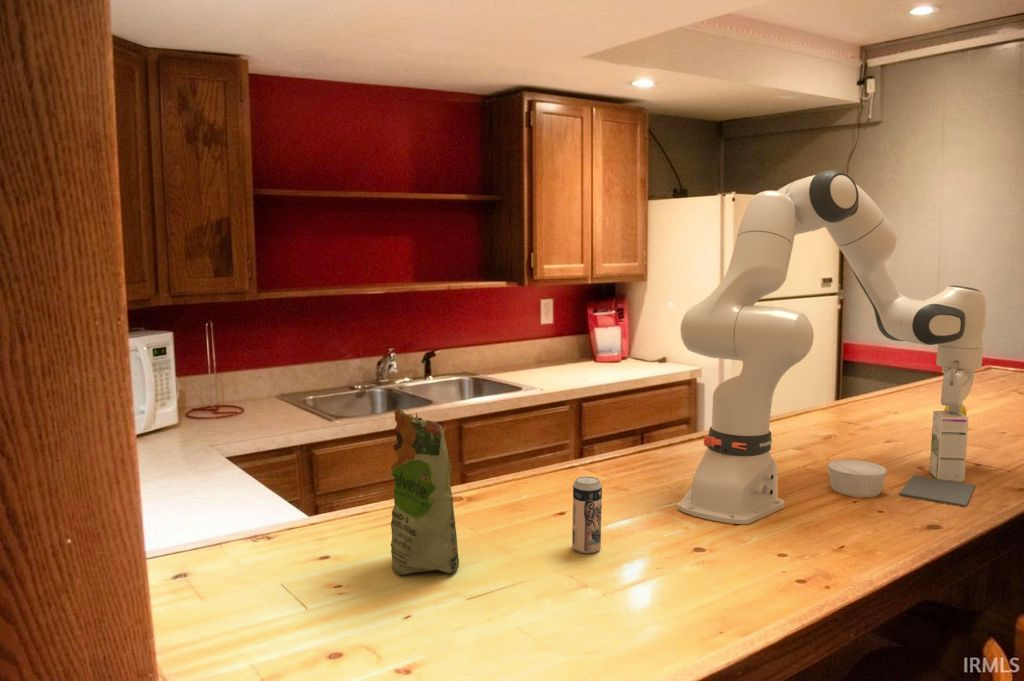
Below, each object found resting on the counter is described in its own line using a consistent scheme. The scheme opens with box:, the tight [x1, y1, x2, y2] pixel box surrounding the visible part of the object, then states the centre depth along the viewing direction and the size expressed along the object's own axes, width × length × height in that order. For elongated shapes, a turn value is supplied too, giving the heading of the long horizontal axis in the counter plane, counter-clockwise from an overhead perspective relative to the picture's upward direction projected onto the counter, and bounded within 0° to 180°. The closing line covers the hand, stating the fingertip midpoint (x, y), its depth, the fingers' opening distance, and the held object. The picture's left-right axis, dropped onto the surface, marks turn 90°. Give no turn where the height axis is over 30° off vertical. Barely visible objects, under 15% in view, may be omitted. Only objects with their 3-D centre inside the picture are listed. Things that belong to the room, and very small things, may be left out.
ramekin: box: [827, 459, 888, 498], centre depth 166 cm, size 11×11×5 cm
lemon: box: [943, 403, 967, 416], centre depth 222 cm, size 6×6×8 cm
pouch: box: [390, 407, 460, 576], centre depth 124 cm, size 11×12×25 cm
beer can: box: [571, 475, 603, 555], centre depth 133 cm, size 5×5×12 cm
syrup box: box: [929, 410, 969, 483], centre depth 175 cm, size 6×6×14 cm
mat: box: [898, 474, 976, 507], centre depth 167 cm, size 16×12×1 cm
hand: (954, 419), depth 180 cm, fingers closed
